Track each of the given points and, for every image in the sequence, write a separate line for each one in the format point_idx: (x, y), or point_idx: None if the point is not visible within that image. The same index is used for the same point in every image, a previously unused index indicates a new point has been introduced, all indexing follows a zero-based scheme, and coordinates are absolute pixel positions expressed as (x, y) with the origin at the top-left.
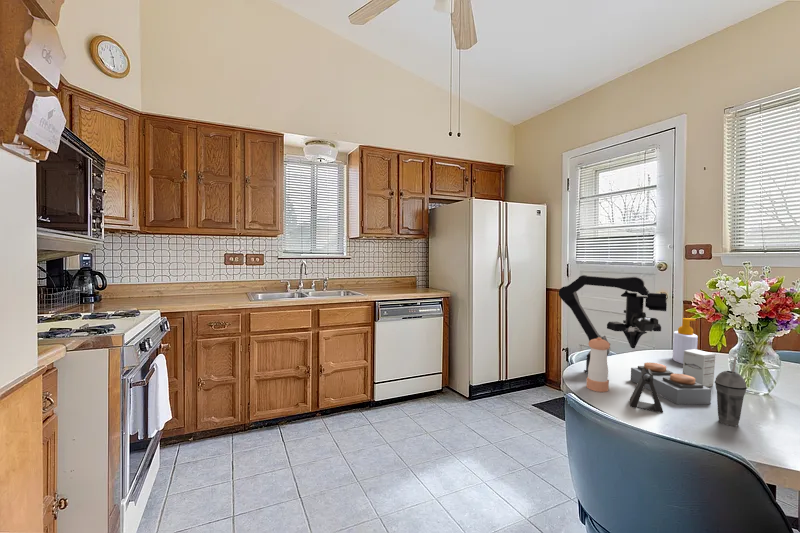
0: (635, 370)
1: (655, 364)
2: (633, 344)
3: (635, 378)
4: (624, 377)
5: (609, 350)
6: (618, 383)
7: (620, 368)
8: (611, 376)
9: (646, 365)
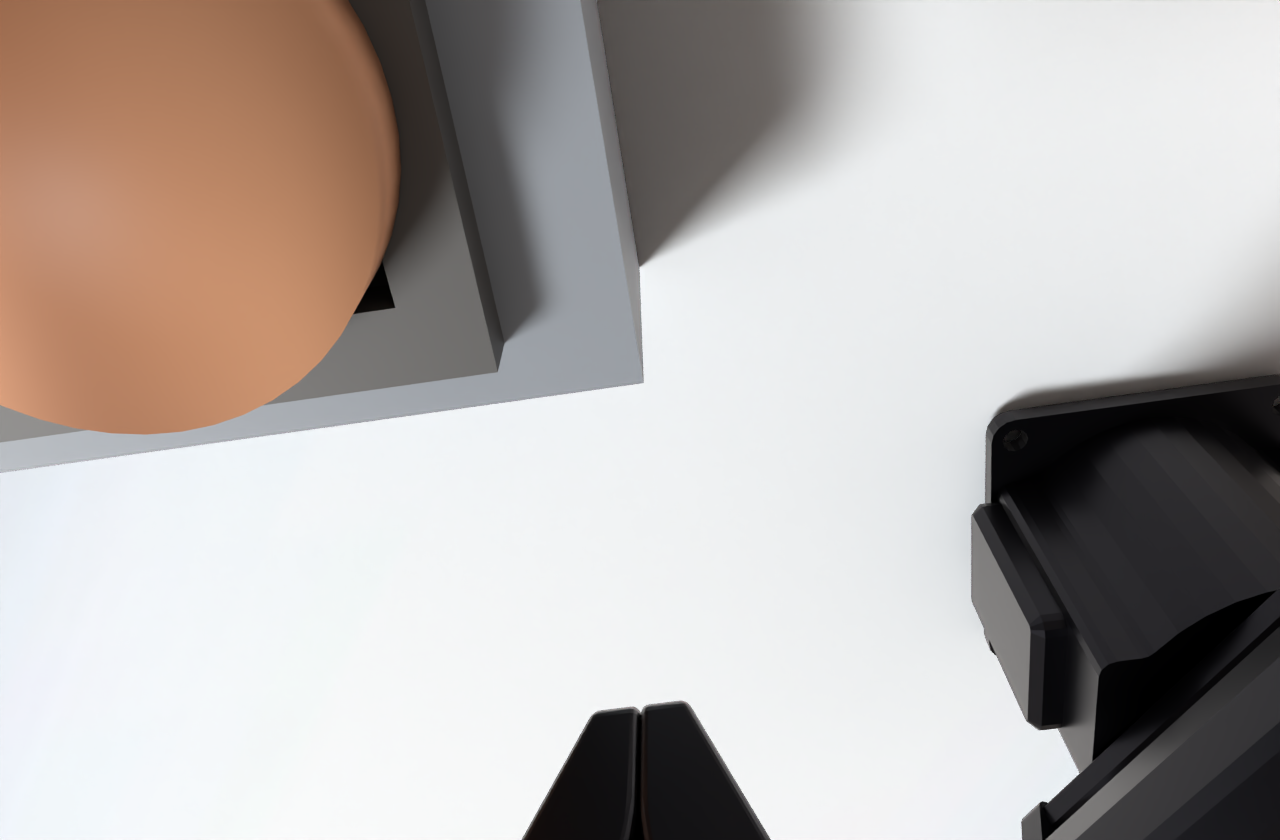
0: (617, 221)
1: (36, 260)
2: (693, 823)
3: (617, 150)
4: (675, 407)
5: (1196, 830)
6: (1011, 31)
7: (510, 809)
8: (896, 430)
9: (368, 118)
